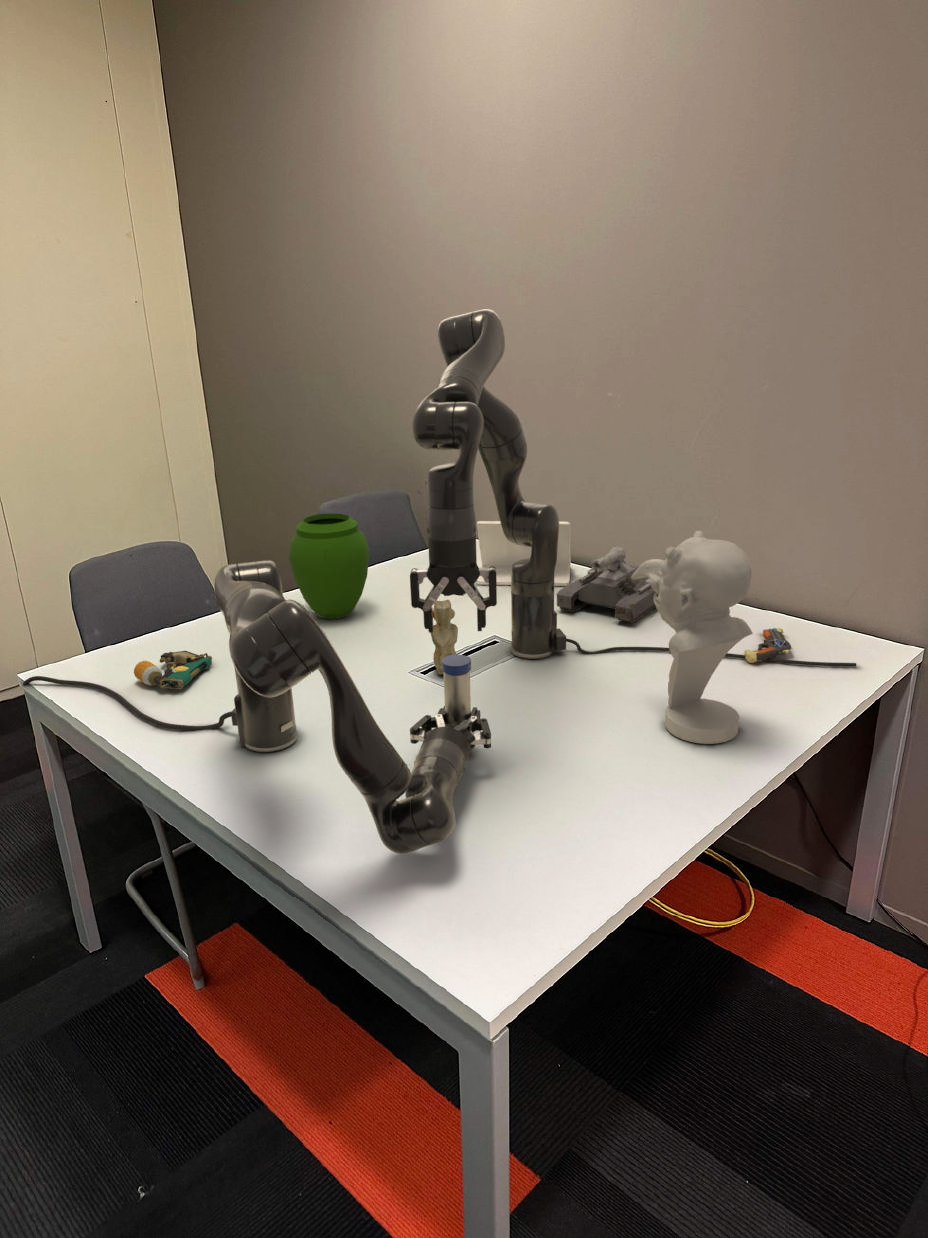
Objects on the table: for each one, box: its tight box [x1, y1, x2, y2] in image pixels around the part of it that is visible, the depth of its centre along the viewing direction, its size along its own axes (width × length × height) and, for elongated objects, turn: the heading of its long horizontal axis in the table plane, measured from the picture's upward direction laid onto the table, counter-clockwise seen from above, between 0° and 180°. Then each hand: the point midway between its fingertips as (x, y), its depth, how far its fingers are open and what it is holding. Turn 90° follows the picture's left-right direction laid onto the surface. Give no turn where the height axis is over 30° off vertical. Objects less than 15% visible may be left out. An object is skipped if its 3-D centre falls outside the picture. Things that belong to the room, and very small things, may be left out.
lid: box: [442, 654, 472, 675], centre depth 141 cm, size 5×5×2 cm
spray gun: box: [133, 650, 213, 690], centre depth 180 cm, size 4×17×15 cm
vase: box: [288, 512, 370, 620], centre depth 209 cm, size 20×20×24 cm
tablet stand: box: [476, 520, 572, 587], centre depth 236 cm, size 18×25×17 cm
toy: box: [556, 546, 656, 624], centre depth 212 cm, size 25×20×15 cm
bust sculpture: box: [631, 530, 754, 745], centre depth 151 cm, size 16×24×35 cm, turn 28°
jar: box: [443, 670, 473, 758], centre depth 144 cm, size 4×4×17 cm
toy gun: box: [743, 627, 794, 664], centre depth 185 cm, size 3×19×10 cm
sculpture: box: [430, 599, 459, 675], centre depth 177 cm, size 6×7×15 cm
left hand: (460, 711), depth 147 cm, fingers closed on jar, 4 cm apart
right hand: (455, 630), depth 139 cm, fingers open, 7 cm apart
